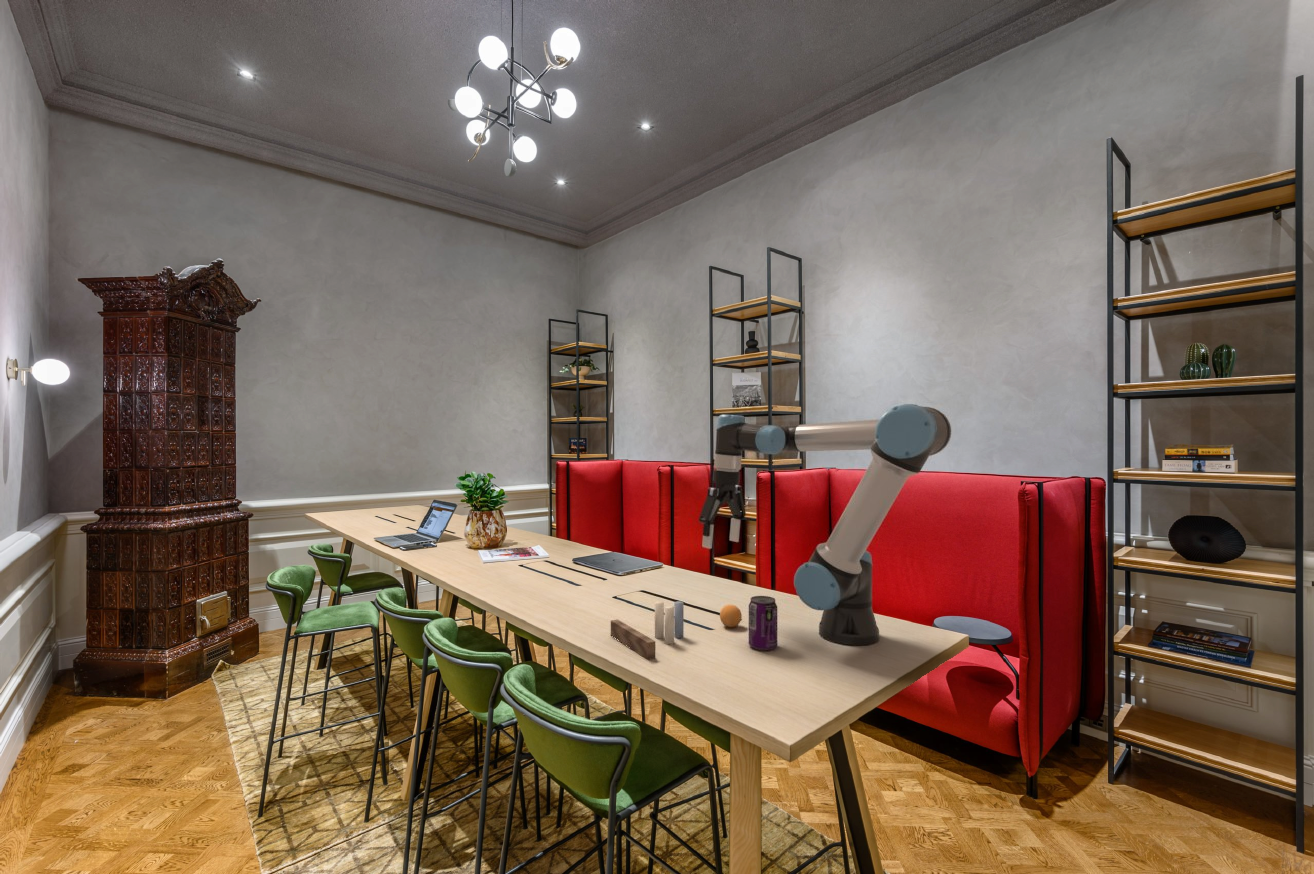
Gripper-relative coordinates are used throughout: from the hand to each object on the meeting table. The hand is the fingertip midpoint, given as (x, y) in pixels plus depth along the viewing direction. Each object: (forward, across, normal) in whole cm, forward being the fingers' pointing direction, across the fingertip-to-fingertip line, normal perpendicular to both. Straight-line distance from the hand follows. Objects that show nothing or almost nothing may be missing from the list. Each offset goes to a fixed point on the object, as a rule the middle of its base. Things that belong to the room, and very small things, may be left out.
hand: (720, 544), depth 167 cm
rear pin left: (+22, +22, +1) cm, 31 cm away
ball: (+19, +1, +6) cm, 20 cm away
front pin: (+22, +17, 0) cm, 28 cm away
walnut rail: (+23, +30, -4) cm, 38 cm away
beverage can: (+20, +9, +21) cm, 31 cm away
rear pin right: (+23, +20, -4) cm, 31 cm away
